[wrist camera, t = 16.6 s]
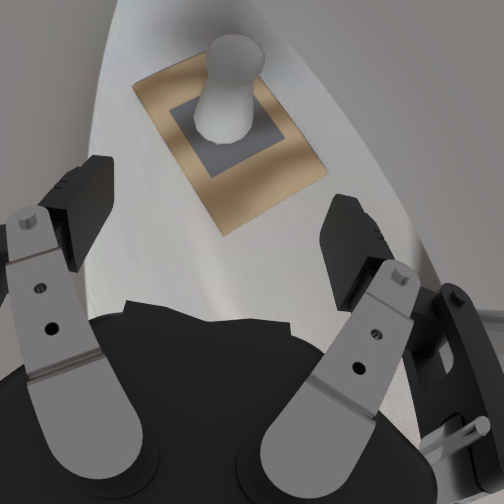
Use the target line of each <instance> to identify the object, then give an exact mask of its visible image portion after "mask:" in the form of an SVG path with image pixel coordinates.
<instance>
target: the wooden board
mask: <svg viewBox="0 0 504 504" xmlns="http://www.w3.org/2000/svg"><path fill="white" fill-rule="evenodd" d="M205 55H206V52H205V53H202V54H200V55H197V56H195V57H192V58H190V59H187V60H185V61H183V62H181V63H178V64H176V65H174V66H172V67H169V68H167V69H165V70H163V71H161V72H159V73H156V74H154V75H152V76H150V77H148V78H146V79H144V80H142V81H140V82H138V83H136V84H134V85H132V88H133V90H134V92H135V93H136V95H137V97H138V98H139V100H140V102H141V103H142V105H143V107H144V108H145V110H146V112H147V113H148V115H149V117H150V118H151V120H152V122H153V123H154V125H155V127H156V128H157V130H158V131H159V133H160V135H161V136H162V138H163V140H164V141H165V143H166V145H167V146H168V148H169V150H170V151H171V153H172V154H173V156H174V158H175V159H176V161H177V163H178V164H179V166H180V167H181V169H182V171H183V172H184V174H185V176H186V177H187V179H188V180H189V182H190V184H191V185H192V187H193V189H194V190H195V192H196V193H197V195H198V197H199V198H200V200H201V201H202V203H203V205H204V206H205V208H206V209H207V211H208V213H209V214H210V216H211V218H212V219H213V221H214V222H215V224H216V226H217V227H218V229H219V230H220V232H221V233H222V235H223V236H225V235H227V234H228V233H230V232H232V231H233V230H235V229H237V228H238V227H240V226H241V225H243V224H245V223H246V222H248V221H250V220H251V219H253V218H255V217H256V216H258V215H260V214H261V213H263V212H265V211H266V210H268V209H269V208H271V207H273V206H274V205H276V204H278V203H279V202H281V201H283V200H285V199H286V198H288V197H290V196H291V195H293V194H295V193H296V192H298V191H300V190H301V189H303V188H305V187H306V186H308V185H310V184H311V183H313V182H315V181H317V180H318V179H320V178H322V177H323V176H325V175H327V174H328V172H327V171H326V169H325V168H324V166H323V165H322V163H321V162H320V160H319V159H318V157H317V156H316V154H315V153H314V151H313V150H312V148H311V147H310V145H309V144H308V143H307V141H306V140H305V138H304V137H303V135H302V134H301V133H300V131H299V130H298V128H297V127H296V126H295V124H294V123H293V121H292V120H291V119H290V117H289V116H288V114H287V113H286V112H285V110H284V109H283V108H282V106H281V105H280V104H279V102H278V101H277V100H276V98H275V97H274V96H273V94H272V93H271V92H270V91H269V89H268V88H267V87H266V85H265V84H264V83H263V81H262V80H261V79H260V78H259V76H258V77H257V78H256V79H255V80H254V81H253V102H254V117H253V122H252V127H251V129H250V130H249V131H248V133H247V134H246V135H245V136H244V137H243V139H240V140H238V141H236V142H234V143H231V144H221V145H217V144H215V143H214V142H211V141H209V140H206V139H205V138H204V137H203V136H202V135H201V134H200V133H199V132H198V131H197V129H196V125H195V121H194V113H195V109H196V105H197V103H198V100H199V98H200V95H201V93H202V90H203V88H204V85H205V83H206V80H207V78H208V73H207V70H206V66H205Z"/></svg>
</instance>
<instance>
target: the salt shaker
mask: <svg viewBox="0 0 504 504" xmlns="http://www.w3.org/2000/svg"><path fill="white" fill-rule="evenodd" d="M264 60H265V54H264V52H263V50H262V47H261V45H259V44H258V43H257V42H256V41H255V40H254V39H252V38H249V37H246V36H244V35H239V34H227V35H224V36H221V37H218V38H216V39H215V40H214V41H213V42H211V43H210V44H209V46H208V49H207V52H206V55H205V66H206V70H207V73H208V78H207V80H206V83H205V85H204V88H203V90H202V93H201V95H200V98H199V100H198V103H197V105H196V109H195V113H194V121H195V125H196V129H197V131H198V132H199V133H200V134H201V135H202V136H203V137H204V138H205V139H206V140H209V141H211V142H214V143H215V144H217V145H221V144H231V143H234V142H236V141H238V140H240V139H243V137H244V136H245V135H246V134H247V133H248V131H249V130H250V129H251V127H252V122H253V117H254V102H253V81H254V80H255V79H256V78H257V77H258V76H259V75H260V74H261V71H262V69H263V64H264Z"/></svg>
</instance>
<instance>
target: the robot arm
mask: <svg viewBox="0 0 504 504" xmlns="http://www.w3.org/2000/svg"><path fill="white" fill-rule="evenodd" d="M113 203H114V160H113V158H112V157H110V156H99V155H92V156H91V157H90V158H89V159H88V160H87V161H86V162H85V163H84V164H83V165H82V166H81V167H76V168H75V169H73V170H71V171H69V172H67V173H66V174H65V175H64V176H63V177H62V178H61V179H60V180H59V182H57V184H56V185H55V186H54V188H52V189H51V190H50V191H49V192H48V194H47V195H46V196H45V197H44V198H43V199H42V200H41V201H40V203H39V204H38V205H37V206H36V205H35V206H27V207H23V208H21V209H19V210H17V211H15V212H14V213H13V214H11V216H10V217H9V218H8V220H7V222H6V224H4V225H0V307H1V304H2V303H3V301H4V299H5V297H6V295H7V293H9V296H10V301H11V307H12V313H13V318H14V323H15V328H16V333H17V337H18V342H19V346H20V350H21V353H22V358H23V361H24V364H23V365H22V366H20V367H19V368H17V369H16V370H15V371H13V372H12V373H10V374H9V375H8V376H6V377H5V378H4V379H2V380H1V381H0V504H468V503H471V502H473V501H476V500H479V499H481V498H484V497H486V496H488V495H491V494H493V493H495V492H498V491H500V490H502V489H504V311H499V310H480V309H475V307H474V306H473V303H472V301H471V299H470V298H469V296H468V295H467V294H466V293H465V292H464V291H463V290H462V289H461V288H459V287H458V286H456V285H454V284H450V283H445V284H443V285H442V287H441V288H440V289H439V291H438V292H437V293H435V292H433V291H431V290H428V289H426V288H423V287H421V286H420V285H421V284H420V279H419V277H418V275H417V274H416V273H415V272H414V271H413V270H412V269H411V268H410V267H409V266H407V265H406V264H404V263H402V262H400V261H397V260H395V258H394V256H393V254H392V252H391V250H390V248H389V246H388V245H387V243H386V241H385V240H384V237H383V235H382V233H380V229H379V227H378V226H377V224H376V222H375V221H374V220H373V219H372V218H371V217H370V216H369V215H368V214H367V213H365V212H364V210H363V209H362V207H361V205H360V203H359V201H358V199H357V198H355V197H350V196H346V195H342V194H336V195H335V196H334V198H333V200H332V202H331V205H330V208H329V210H328V213H327V215H326V218H325V221H324V223H323V226H322V228H321V232H320V247H321V250H322V254H323V258H324V261H325V265H326V268H327V272H328V276H329V280H330V283H331V287H332V291H333V295H334V299H335V303H336V306H337V310H338V311H347V312H351V315H350V317H349V319H348V320H347V322H346V323H345V325H344V326H343V328H342V329H341V331H340V332H339V334H338V335H337V337H336V338H335V340H334V341H333V343H332V344H331V346H330V347H329V349H328V350H327V351H326V353H325V354H324V353H323V352H322V351H320V350H319V349H318V348H316V347H315V346H313V345H312V344H310V343H308V342H306V341H304V340H302V339H300V338H297V337H295V336H292V335H291V330H290V323H288V322H278V321H268V320H259V319H251V318H250V319H239V320H227V321H215V322H207V321H203V320H200V319H197V318H195V317H192V316H189V315H186V314H184V313H181V312H178V311H176V310H173V309H170V308H168V307H163V306H157V305H151V304H145V303H139V302H133V301H128V300H126V303H125V306H124V310H123V312H120V313H111V314H106V315H102V316H99V317H96V318H93V319H90V320H88V319H87V317H86V314H85V312H84V310H83V307H82V305H81V302H80V300H79V297H78V295H77V292H76V289H75V287H74V284H73V282H72V279H71V276H70V273H69V271H71V272H76V273H78V271H79V269H80V267H81V265H82V263H83V261H84V260H85V258H86V256H87V254H88V252H89V250H90V248H91V246H92V244H93V243H94V241H95V239H96V237H97V235H98V234H99V232H100V230H101V228H102V226H103V225H104V223H105V221H106V220H107V218H108V216H109V214H110V213H111V210H112V208H113ZM401 356H402V358H403V362H404V366H405V370H406V374H407V378H408V382H409V386H410V390H411V395H412V399H413V403H414V408H415V412H416V417H417V422H418V427H419V432H420V437H421V442H420V444H419V449H417V448H416V447H415V446H414V445H413V444H412V443H411V442H410V441H409V440H408V439H407V438H406V437H405V436H404V435H403V434H402V433H401V432H400V431H399V430H398V429H397V428H396V427H395V426H394V425H393V424H392V423H391V422H390V421H389V420H388V419H387V418H386V417H385V416H384V415H383V414H382V413H381V412H380V411H379V410H378V409H379V407H380V405H381V403H382V401H383V399H384V396H385V394H386V392H387V390H388V388H389V385H390V383H391V381H392V378H393V376H394V374H395V371H396V369H397V366H398V364H399V361H400V359H401Z"/></svg>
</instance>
